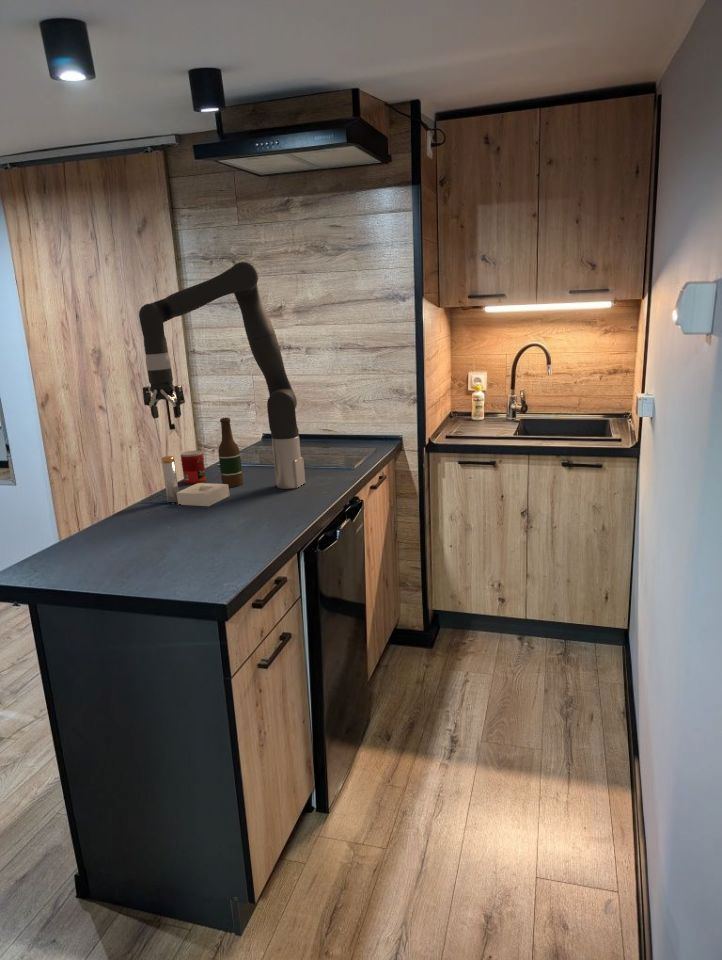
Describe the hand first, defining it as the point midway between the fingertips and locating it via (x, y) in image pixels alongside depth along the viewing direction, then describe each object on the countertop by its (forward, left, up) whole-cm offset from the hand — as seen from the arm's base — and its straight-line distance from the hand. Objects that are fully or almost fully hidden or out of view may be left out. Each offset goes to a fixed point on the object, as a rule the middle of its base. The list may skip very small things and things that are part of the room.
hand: (166, 417), depth 220 cm
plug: (-1, +3, -28) cm, 28 cm away
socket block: (-11, 0, -28) cm, 29 cm away
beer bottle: (-10, -19, -28) cm, 35 cm away
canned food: (+8, -21, -28) cm, 36 cm away
